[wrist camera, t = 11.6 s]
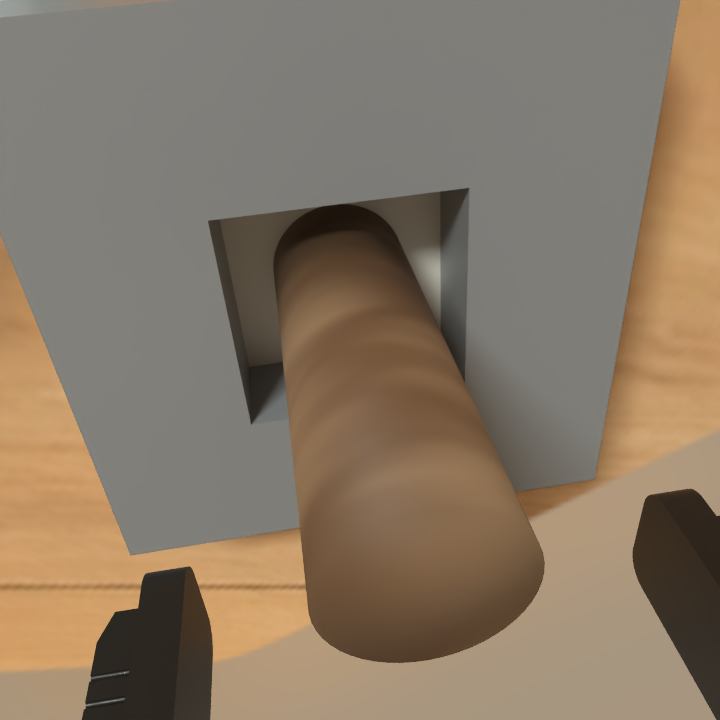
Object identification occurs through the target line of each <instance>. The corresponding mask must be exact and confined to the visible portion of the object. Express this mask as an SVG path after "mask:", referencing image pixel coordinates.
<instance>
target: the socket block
mask: <svg viewBox="0 0 720 720" xmlns="http://www.w3.org/2000/svg"><path fill="white" fill-rule="evenodd" d="M679 4H680V0H0V234H1V236H2V239H3V241H4V244H5V246H6V249H7V251H8V253H9V256H10V258H11V261H12V263H13V266H14V268H15V271H16V273H17V276H18V278H19V281H20V283H21V286H22V288H23V291H24V293H25V295H26V298H27V300H28V303H29V305H30V308H31V310H32V313H33V315H34V318H35V320H36V323H37V325H38V328H39V330H40V333H41V335H42V337H43V340H44V342H45V345H46V347H47V350H48V352H49V355H50V357H51V360H52V362H53V365H54V367H55V370H56V372H57V375H58V377H59V379H60V382H61V384H62V387H63V389H64V392H65V394H66V397H67V399H68V402H69V404H70V407H71V409H72V412H73V414H74V417H75V419H76V421H77V424H78V426H79V429H80V431H81V434H82V436H83V439H84V441H85V444H86V446H87V449H88V451H89V454H90V456H91V459H92V461H93V463H94V466H95V468H96V471H97V473H98V476H99V478H100V481H101V483H102V486H103V488H104V491H105V493H106V496H107V498H108V500H109V503H110V505H111V508H112V510H113V513H114V515H115V518H116V520H117V523H118V525H119V528H120V530H121V533H122V535H123V538H124V540H125V542H126V545H127V547H128V550H129V552H130V555H137V554H143V553H149V552H155V551H161V550H167V549H173V548H180V547H186V546H192V545H198V544H204V543H210V542H216V541H222V540H228V539H234V538H240V537H247V536H253V535H259V534H265V533H271V532H277V531H283V530H289V529H295V528H300V523H299V514H298V504H297V494H296V484H295V475H294V465H293V455H292V445H291V436H290V426H289V416H288V406H287V397H286V387H285V377H284V368H283V358H282V348H281V338H280V329H279V319H278V309H277V299H276V290H275V280H274V269H273V262H274V255H275V251H276V248H277V245H278V243H279V241H280V239H281V237H282V235H283V234H284V232H285V231H286V230H287V228H288V227H289V226H290V225H291V224H292V223H293V222H294V221H296V220H297V219H298V218H299V217H301V216H302V215H304V214H306V213H307V212H309V211H312V210H314V209H316V208H319V207H322V206H329V205H337V204H351V205H356V206H360V207H363V208H366V209H369V210H371V211H373V212H375V213H376V214H378V215H379V216H381V217H382V218H383V219H384V220H385V221H386V222H387V223H388V224H389V225H390V226H391V227H392V229H393V230H394V232H395V234H396V235H397V237H398V239H399V242H400V244H401V246H402V248H403V250H404V252H405V255H406V257H407V259H408V261H409V263H410V265H411V268H412V270H413V272H414V274H415V276H416V278H417V281H418V283H419V285H420V287H421V289H422V291H423V294H424V296H425V298H426V300H427V302H428V304H429V307H430V309H431V311H432V313H433V315H434V317H435V319H436V322H437V324H438V326H439V328H440V330H441V332H442V335H443V337H444V339H445V341H446V343H447V345H448V348H449V350H450V352H451V354H452V356H453V358H454V361H455V363H456V365H457V367H458V369H459V371H460V374H461V376H462V378H463V380H464V382H465V384H466V387H467V389H468V391H469V393H470V395H471V397H472V399H473V402H474V404H475V406H476V408H477V410H478V412H479V415H480V417H481V419H482V421H483V423H484V425H485V428H486V430H487V432H488V434H489V436H490V438H491V441H492V443H493V445H494V447H495V449H496V451H497V454H498V456H499V458H500V460H501V462H502V464H503V467H504V469H505V471H506V473H507V475H508V477H509V480H510V482H511V484H512V486H513V488H514V490H515V492H521V491H527V490H533V489H539V488H545V487H551V486H558V485H564V484H570V483H576V482H582V481H588V480H594V479H595V474H596V469H597V463H598V457H599V452H600V446H601V441H602V435H603V429H604V424H605V418H606V413H607V407H608V401H609V396H610V390H611V385H612V379H613V373H614V368H615V362H616V357H617V351H618V346H619V340H620V334H621V329H622V323H623V318H624V312H625V306H626V301H627V295H628V290H629V284H630V278H631V273H632V267H633V262H634V256H635V250H636V245H637V239H638V234H639V228H640V223H641V217H642V211H643V206H644V200H645V195H646V189H647V183H648V178H649V172H650V167H651V161H652V155H653V150H654V144H655V139H656V133H657V127H658V122H659V116H660V111H661V105H662V100H663V94H664V88H665V83H666V77H667V72H668V66H669V60H670V55H671V49H672V44H673V38H674V32H675V27H676V21H677V16H678V10H679Z"/></svg>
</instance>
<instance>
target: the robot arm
mask: <svg viewBox="0 0 720 720" xmlns="http://www.w3.org/2000/svg"><path fill="white" fill-rule="evenodd" d="M633 563H634V569H635V572H636V575H637V578H638V581H639V583H640V585H641V587H642V589H643V590H644V592H645V594H646V596H647V598H648V599H649V601H650V603H651V605H652V606H653V608H654V610H655V612H656V613H657V615H658V617H659V619H660V620H661V622H662V624H663V626H664V628H665V629H666V631H667V633H668V635H669V636H670V638H671V640H672V641H673V643H674V645H675V647H676V649H677V650H678V652H679V654H680V656H681V657H682V659H683V661H684V663H685V665H686V666H687V668H688V670H689V672H690V674H691V675H692V677H693V679H694V681H695V682H696V684H697V686H698V688H699V689H700V691H701V693H702V695H703V696H704V698H705V700H706V702H707V704H708V705H709V707H710V709H711V711H712V712H713V714H714V716H715V718H716V719H717V720H720V516H716V515H715V514H714V512H713V511H712V510H711V508H710V507H709V506H708V504H707V503H706V502H705V500H704V499H703V498H702V496H701V495H700V494H699V493H697V492H696V491H695V490H693V489H685V490H678V491H672V492H666V493H659V494H654V495H649V496H648V497H647V498H646V499H645V502H644V506H643V510H642V514H641V518H640V522H639V526H638V531H637V535H636V540H635V543H634V547H633ZM212 660H213V645H212V633H211V626H210V621H209V617H208V614H207V611H206V608H205V605H204V602H203V599H202V596H201V593H200V590H199V587H198V584H197V581H196V578H195V575H194V572H193V570H192V568H191V567H183V568H177V569H170V570H164V571H158V572H151V573H147V574H145V575H144V578H143V581H142V586H141V593H140V600H139V606H138V608H137V609H131V610H125V611H119V612H115V613H114V615H113V617H112V618H111V620H110V622H109V623H108V625H107V627H106V628H105V630H104V632H103V633H102V635H101V637H100V638H99V640H98V642H97V645H96V650H95V655H94V660H93V665H92V671H91V682H89V686H88V692H87V697H86V702H85V703H86V709H85V710H84V712H83V717H82V720H210V710H211V685H212Z"/></svg>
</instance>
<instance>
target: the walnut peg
mask: <svg viewBox="0 0 720 720" xmlns="http://www.w3.org/2000/svg"><path fill="white" fill-rule="evenodd" d="M273 269H274V280H275V290H276V299H277V309H278V319H279V329H280V338H281V348H282V358H283V368H284V377H285V387H286V397H287V406H288V416H289V426H290V436H291V445H292V455H293V465H294V475H295V484H296V494H297V504H298V514H299V523H300V533H301V543H302V552H303V562H304V572H305V582H306V591H307V601H308V611H309V616H310V619H311V622H312V624H313V626H314V628H315V629H316V631H317V632H318V634H319V635H320V636H321V637H322V638H323V639H324V640H325V641H326V642H328V643H329V644H330V645H331V646H333V647H335V648H336V649H338V650H340V651H342V652H344V653H346V654H349V655H351V656H355V657H358V658H361V659H366V660H371V661H378V662H387V663H403V662H417V661H424V660H430V659H434V658H440V657H444V656H447V655H450V654H454V653H457V652H460V651H462V650H465V649H468V648H470V647H473V646H475V645H477V644H479V643H481V642H483V641H485V640H486V639H489V638H490V637H492V636H494V635H495V634H497V633H498V632H500V631H501V630H503V629H504V628H506V627H507V626H508V625H509V624H511V623H512V622H513V621H514V620H515V619H517V618H518V617H519V616H520V614H522V613H523V612H524V611H525V609H526V608H527V607H528V605H529V604H530V603H531V602H532V600H533V599H534V597H535V595H536V594H537V592H538V590H539V587H540V585H541V582H542V579H543V575H544V557H543V552H542V549H541V547H540V544H539V542H538V540H537V538H536V536H535V534H534V531H533V529H532V527H531V525H530V523H529V521H528V518H527V516H526V514H525V512H524V510H523V508H522V505H521V503H520V501H519V499H518V497H517V495H516V492H515V490H514V488H513V486H512V484H511V482H510V480H509V477H508V475H507V473H506V471H505V469H504V467H503V464H502V462H501V460H500V458H499V456H498V454H497V451H496V449H495V447H494V445H493V443H492V441H491V438H490V436H489V434H488V432H487V430H486V428H485V425H484V423H483V421H482V419H481V417H480V415H479V412H478V410H477V408H476V406H475V404H474V402H473V399H472V397H471V395H470V393H469V391H468V389H467V387H466V384H465V382H464V380H463V378H462V376H461V374H460V371H459V369H458V367H457V365H456V363H455V361H454V358H453V356H452V354H451V352H450V350H449V348H448V345H447V343H446V341H445V339H444V337H443V335H442V332H441V330H440V328H439V326H438V324H437V322H436V319H435V317H434V315H433V313H432V311H431V309H430V307H429V304H428V302H427V300H426V298H425V296H424V294H423V291H422V289H421V287H420V285H419V283H418V281H417V278H416V276H415V274H414V272H413V270H412V268H411V265H410V263H409V261H408V259H407V257H406V255H405V252H404V250H403V248H402V246H401V244H400V242H399V239H398V237H397V235H396V234H395V232H394V230H393V229H392V227H391V226H390V225H389V224H388V223H387V222H386V221H385V220H384V219H383V218H382V217H381V216H379V215H378V214H376V213H375V212H373V211H371V210H369V209H366V208H363V207H360V206H356V205H351V204H337V205H329V206H322V207H319V208H316V209H314V210H312V211H309V212H307V213H306V214H304V215H302V216H301V217H299V218H298V219H297V220H296V221H294V222H293V223H292V224H291V225H290V226H289V227H288V228H287V230H286V231H285V232H284V234H283V235H282V237H281V239H280V241H279V243H278V245H277V248H276V251H275V255H274V262H273Z"/></svg>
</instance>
